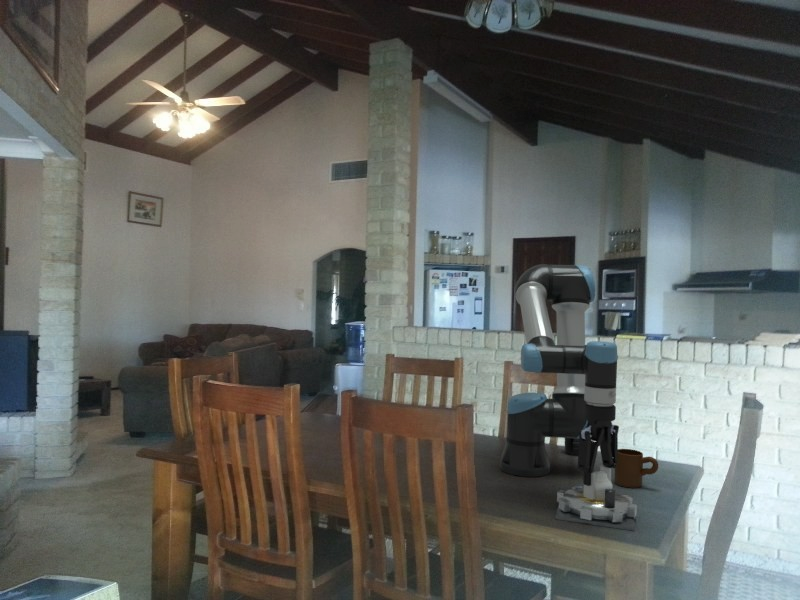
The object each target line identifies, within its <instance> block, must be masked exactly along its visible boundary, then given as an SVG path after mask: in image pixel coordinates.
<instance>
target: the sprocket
mask: <svg viewBox="0 0 800 600" xmlns="http://www.w3.org/2000/svg"><path fill="white" fill-rule="evenodd" d="M583 495H584V486H582V485H576V486H575V485H573V486H572V488H571V489H567V490H565V489H559V490H558V491H557V492H556V502H558V505H559V509H561V510H562V511H563V512H569V511H570V512H572V513H574V514H577V515H580V518H582V519H586V520H592V519H600V520H610V521H611V522H622V519H623V518H625V517H627V516H628V517H633V518H634V519H635V517H636V516H637V515H638V514H637V512H638V504H635V503H634V502H633V500H634V498H633V497H631V496H630V495H628V494H621V493H617V492H616V490H615V489H614V488H612V489H605V500H603V501H600V500H595V499H593V500H592V499H589V498H586V497H584V496H583ZM632 503H633V504H632Z"/></svg>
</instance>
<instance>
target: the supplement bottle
mask: <svg viewBox="0 0 800 600" xmlns="http://www.w3.org/2000/svg"><path fill="white" fill-rule="evenodd" d="M579 441H580V438H578V439H575V438H564V446H563V447H564V453H565V454H566V455H568V456H578V455H579Z"/></svg>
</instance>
